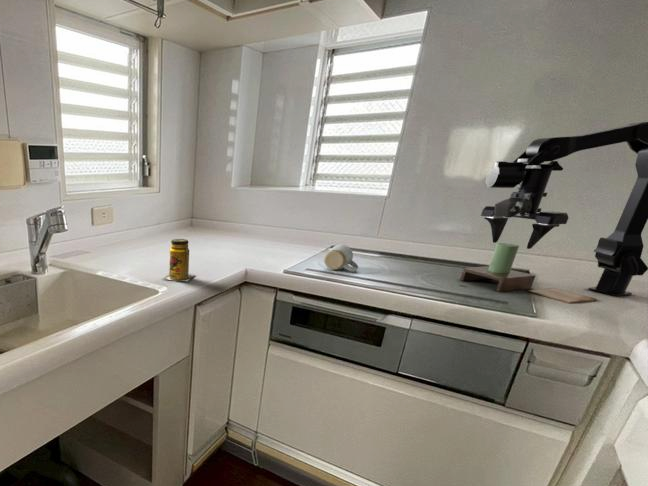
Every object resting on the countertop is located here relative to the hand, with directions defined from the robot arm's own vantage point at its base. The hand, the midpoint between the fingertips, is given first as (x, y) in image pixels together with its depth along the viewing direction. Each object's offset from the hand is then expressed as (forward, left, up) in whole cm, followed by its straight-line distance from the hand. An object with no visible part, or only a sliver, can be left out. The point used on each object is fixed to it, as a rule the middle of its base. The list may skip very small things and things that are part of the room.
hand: (511, 245), depth 116 cm
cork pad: (-7, +12, -12) cm, 18 cm away
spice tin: (0, -1, -8) cm, 8 cm away
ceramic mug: (+33, -28, -12) cm, 45 cm away
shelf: (0, -1, -12) cm, 12 cm away
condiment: (+90, -31, -12) cm, 96 cm away
